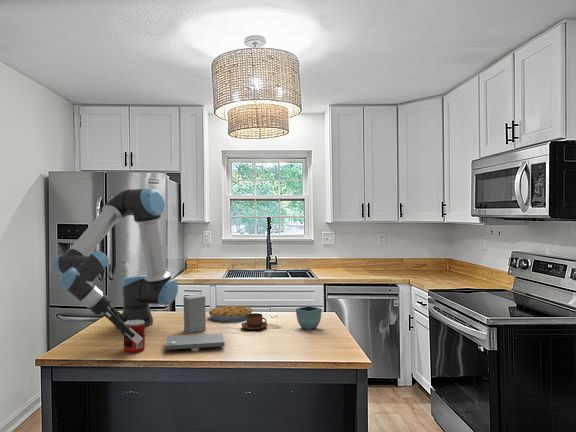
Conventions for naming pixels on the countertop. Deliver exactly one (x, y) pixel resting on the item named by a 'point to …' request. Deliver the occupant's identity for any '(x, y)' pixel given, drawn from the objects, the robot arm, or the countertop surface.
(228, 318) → the pie
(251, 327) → the cup and saucer
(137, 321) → the canned food
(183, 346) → the plate
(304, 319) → the flower pot
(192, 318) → the skincare box
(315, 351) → the countertop surface
